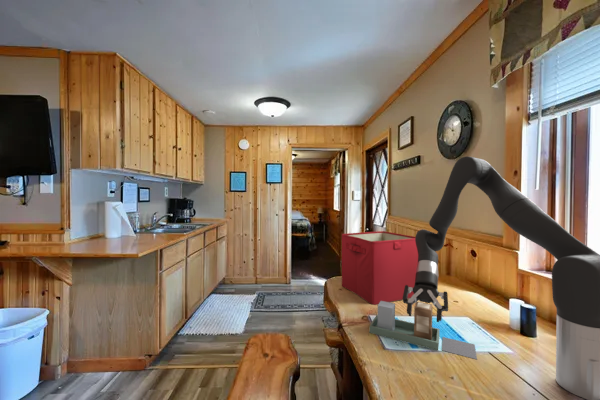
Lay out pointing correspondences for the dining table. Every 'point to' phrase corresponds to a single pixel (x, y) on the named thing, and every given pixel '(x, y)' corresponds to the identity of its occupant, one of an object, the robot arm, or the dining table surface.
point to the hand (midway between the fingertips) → (423, 318)
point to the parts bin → (406, 333)
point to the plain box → (386, 315)
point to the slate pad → (459, 348)
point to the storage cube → (379, 265)
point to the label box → (423, 320)
